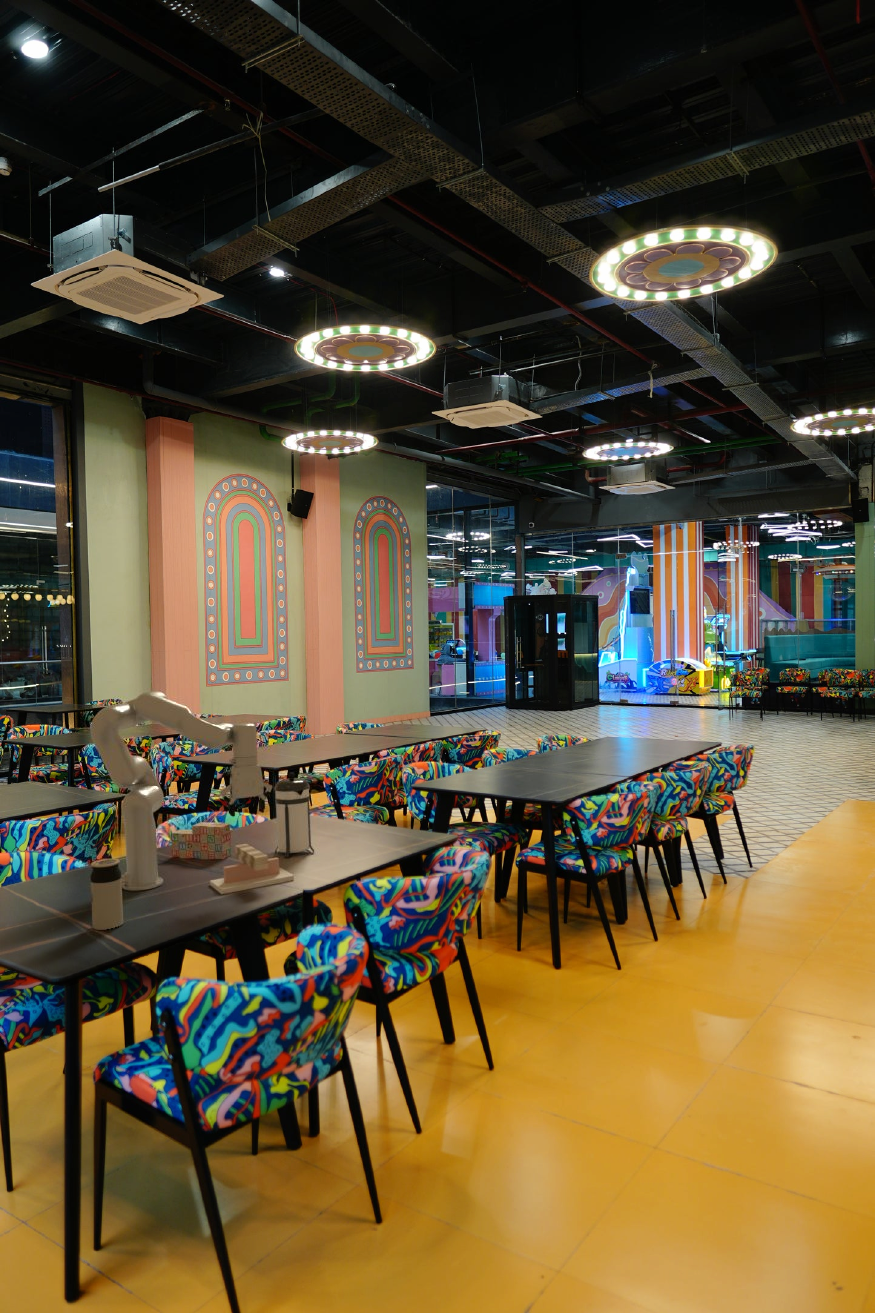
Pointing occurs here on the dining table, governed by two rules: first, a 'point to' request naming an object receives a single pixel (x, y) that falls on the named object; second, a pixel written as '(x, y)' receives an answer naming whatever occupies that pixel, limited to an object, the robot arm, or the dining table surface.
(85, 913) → the dining table surface
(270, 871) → the stand
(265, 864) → the oak bar
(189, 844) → the stack of blocks
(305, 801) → the coffee press
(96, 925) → the travel mug
